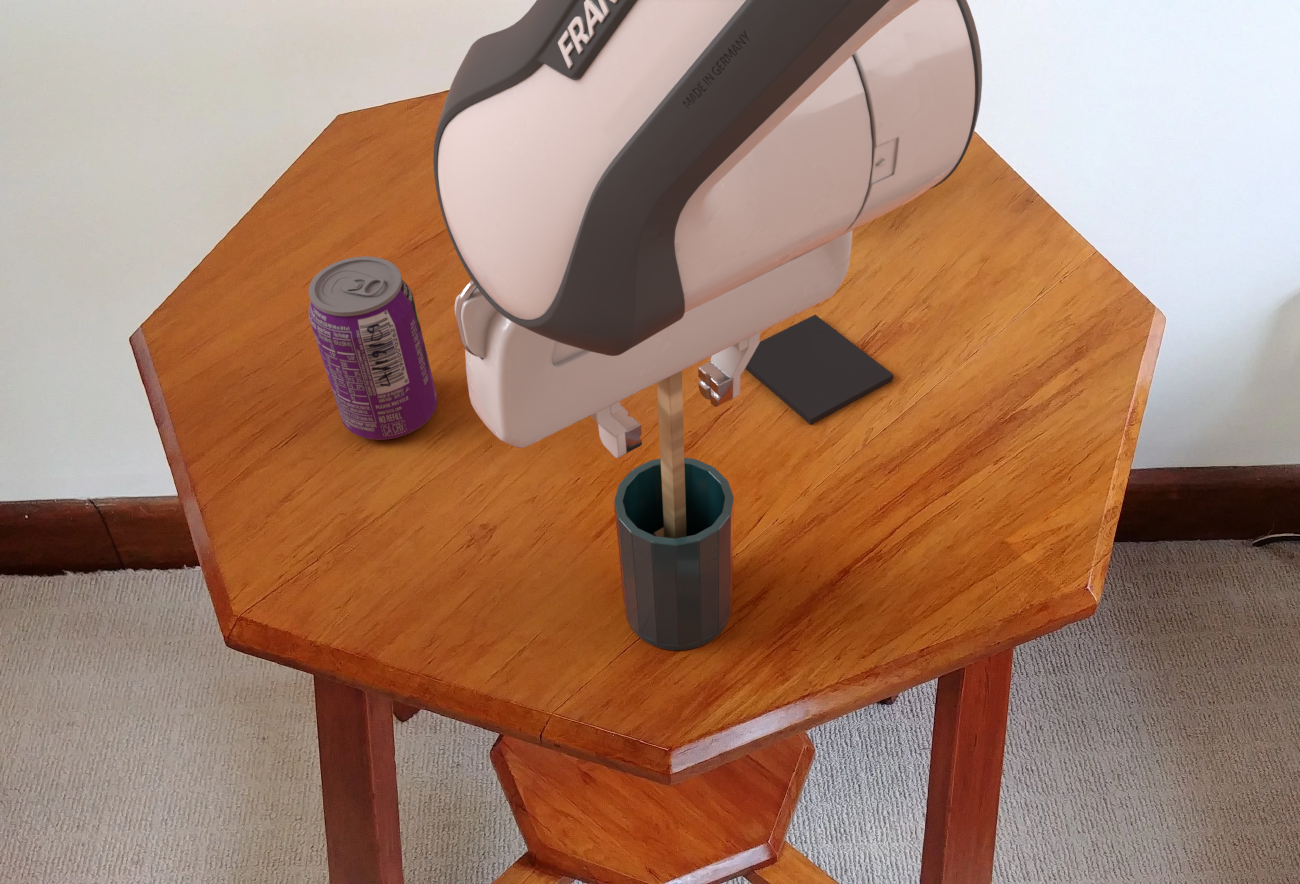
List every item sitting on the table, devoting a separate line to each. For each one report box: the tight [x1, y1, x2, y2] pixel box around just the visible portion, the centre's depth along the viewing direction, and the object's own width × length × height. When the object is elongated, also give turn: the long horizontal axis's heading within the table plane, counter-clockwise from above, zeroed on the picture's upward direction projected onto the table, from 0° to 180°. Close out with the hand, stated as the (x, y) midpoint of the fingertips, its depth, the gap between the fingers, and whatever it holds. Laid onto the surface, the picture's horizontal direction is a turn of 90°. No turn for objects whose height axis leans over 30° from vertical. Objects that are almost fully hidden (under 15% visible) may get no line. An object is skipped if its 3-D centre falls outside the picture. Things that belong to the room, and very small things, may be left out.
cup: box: [613, 457, 735, 652], centre depth 66 cm, size 7×7×10 cm
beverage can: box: [308, 256, 438, 440], centre depth 79 cm, size 7×7×12 cm
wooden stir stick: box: [654, 370, 686, 539], centre depth 62 cm, size 3×1×20 cm, turn 34°
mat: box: [744, 314, 895, 425], centre depth 85 cm, size 9×8×1 cm
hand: (671, 420), depth 58 cm, fingers open, 5 cm apart
